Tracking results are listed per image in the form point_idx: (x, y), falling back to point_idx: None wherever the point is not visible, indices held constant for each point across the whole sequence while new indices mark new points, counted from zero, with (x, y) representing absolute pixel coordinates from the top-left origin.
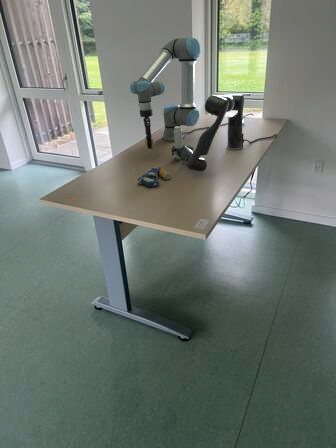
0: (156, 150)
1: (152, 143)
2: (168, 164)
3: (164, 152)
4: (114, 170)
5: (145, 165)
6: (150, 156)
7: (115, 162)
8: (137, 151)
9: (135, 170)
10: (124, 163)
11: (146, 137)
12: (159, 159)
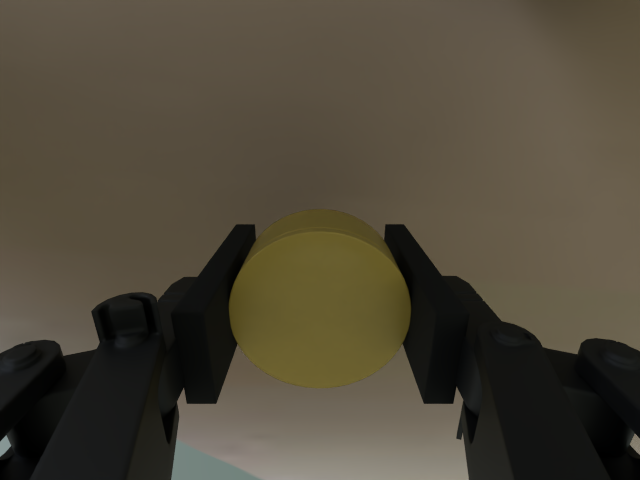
0: (72, 118)
1: (376, 234)
2: (589, 35)
3: (163, 22)
4: (465, 463)
5: (483, 269)
6: (259, 205)
7: (311, 459)
8: (80, 311)
9: (548, 348)
10: (357, 410)
11: (226, 372)
12: (385, 120)
